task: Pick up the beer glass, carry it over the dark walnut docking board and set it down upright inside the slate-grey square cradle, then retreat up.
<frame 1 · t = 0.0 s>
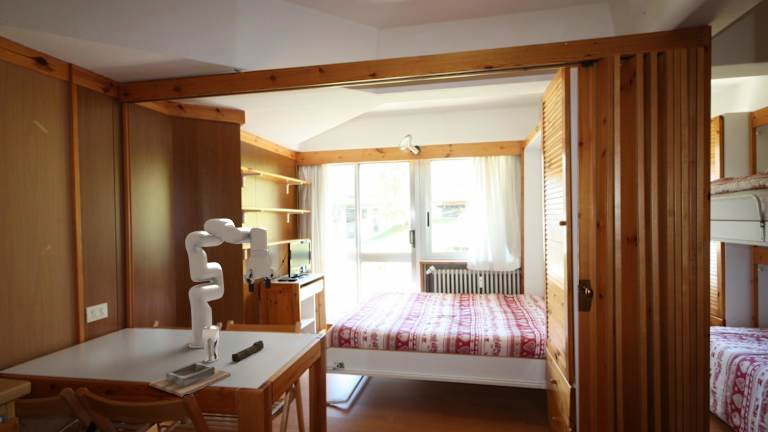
hand: (260, 290, 166), 31 cm above the table, tool pointing down, fingers open, 9 cm apart
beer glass: (211, 360, 165), on the table
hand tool: (248, 355, 170), on the table
glass dock: (190, 380, 143), on the table
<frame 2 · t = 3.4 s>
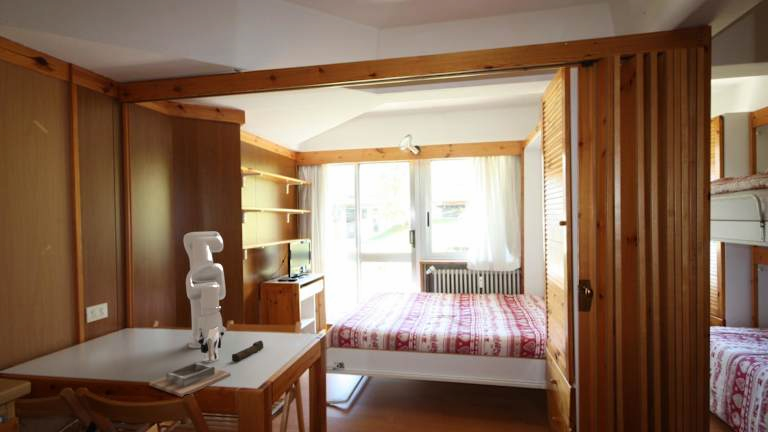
hand: (211, 349, 165), 5 cm above the table, tool pointing down, fingers closed on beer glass, 6 cm apart
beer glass: (211, 360, 165), on the table, touching gripper
everything else where it was.
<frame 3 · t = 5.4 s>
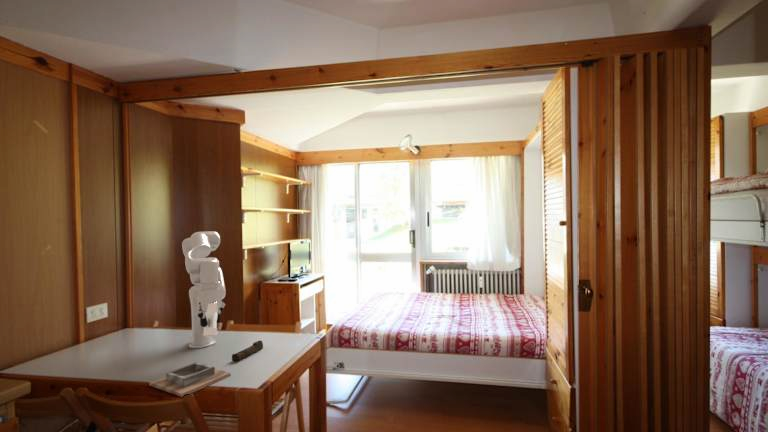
hand: (210, 324, 166), 16 cm above the table, tool pointing down, fingers closed on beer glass, 6 cm apart
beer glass: (210, 334, 166), point 11 cm above the table, touching gripper
everything else where it was.
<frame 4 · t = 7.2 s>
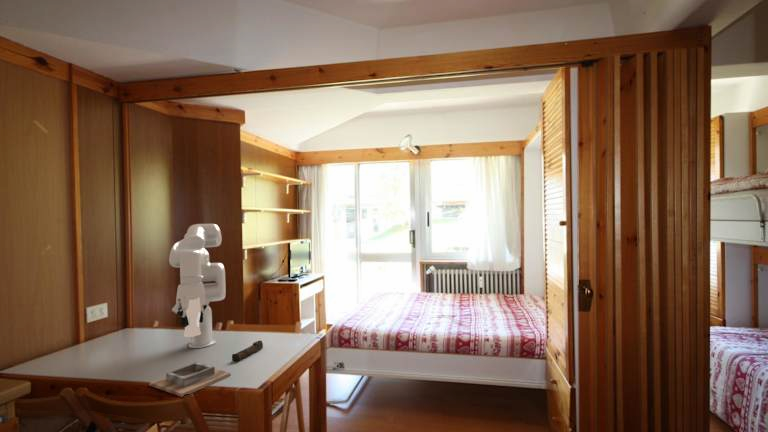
hand: (192, 323, 145), 22 cm above the table, tool pointing down, fingers closed on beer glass, 6 cm apart
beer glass: (192, 335, 145), point 17 cm above the table, touching gripper
everything else where it was.
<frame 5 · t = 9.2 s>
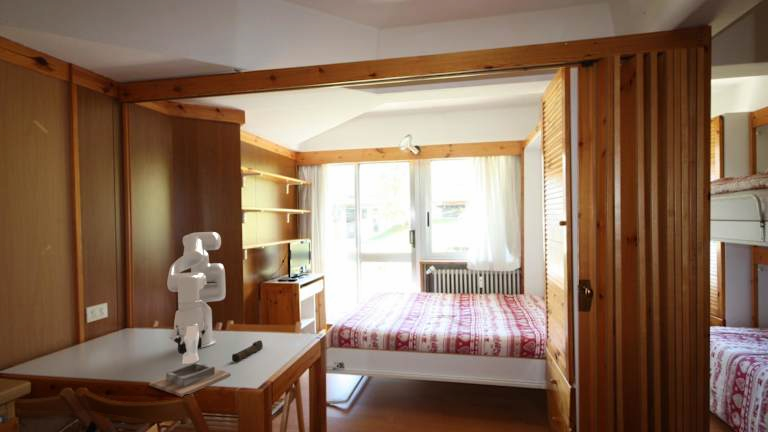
hand: (190, 350, 143), 12 cm above the table, tool pointing down, fingers closed on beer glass, 6 cm apart
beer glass: (190, 362, 143), point 7 cm above the table, touching gripper
everything else where it was.
when the fingers open (7 cm above the table, at t = 10.7 s): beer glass drops 1 cm, resting on glass dock.
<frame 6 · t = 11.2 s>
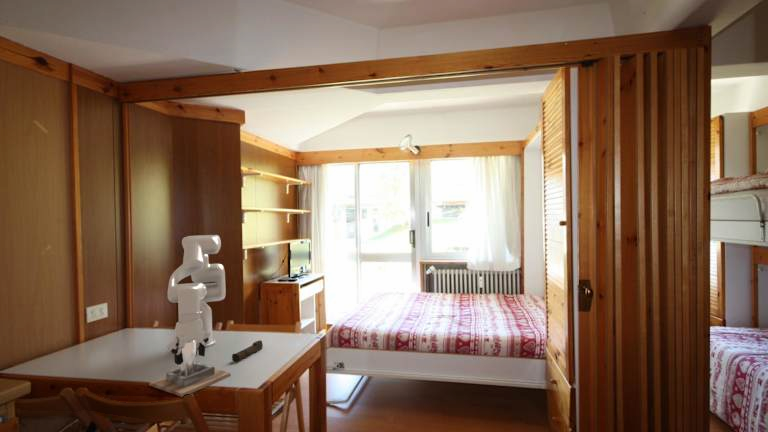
hand: (190, 359, 143), 8 cm above the table, tool pointing down, fingers open, 9 cm apart
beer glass: (187, 378, 142), point 1 cm above the table, touching glass dock, gripper
everything else where it was.
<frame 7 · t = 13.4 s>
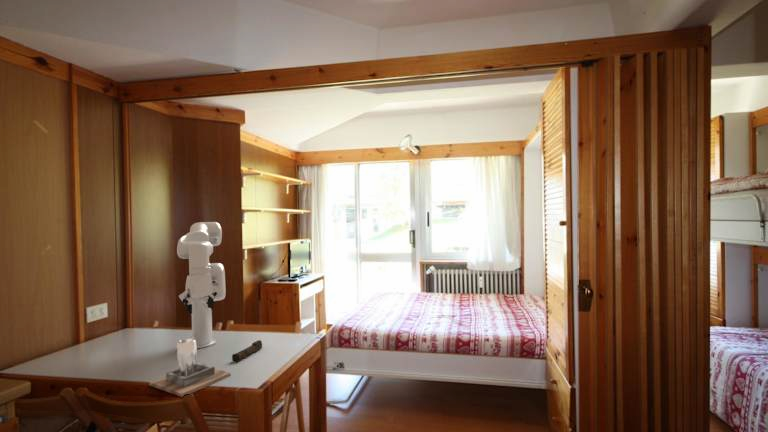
hand: (200, 310, 154), 26 cm above the table, tool pointing down, fingers open, 9 cm apart
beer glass: (187, 378, 142), point 1 cm above the table, touching glass dock
everything else where it was.
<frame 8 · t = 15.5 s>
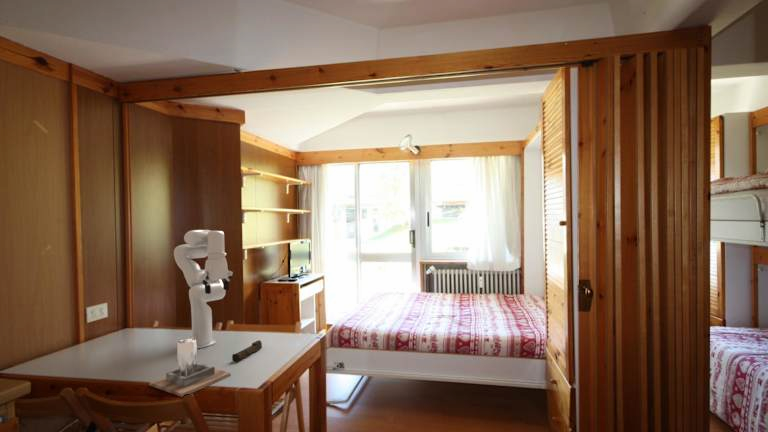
hand: (217, 291, 172), 30 cm above the table, tool pointing down, fingers open, 9 cm apart
nothing on the table moved.
at the end: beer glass 1.2 cm off-centre on the glass dock, point 1.0 cm above the glass dock's base; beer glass tilted 0°; the gripper is holding nothing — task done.
